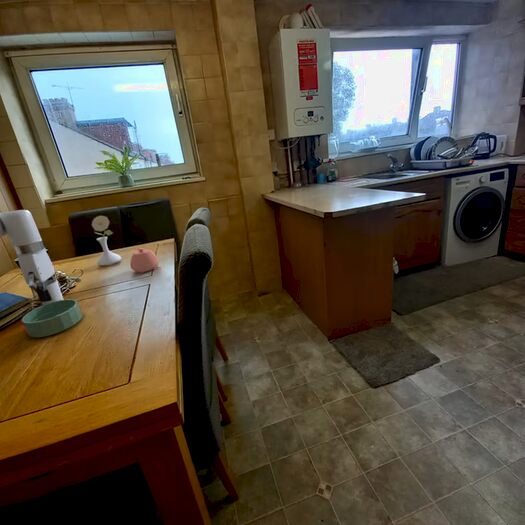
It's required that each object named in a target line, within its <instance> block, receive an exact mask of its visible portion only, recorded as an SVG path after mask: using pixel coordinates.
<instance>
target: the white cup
mask: <svg viewBox="0 0 525 525" xmlns="http://www.w3.org/2000/svg"><path fill="white" fill-rule="evenodd" d="M50 282H51V283H50ZM48 284H49V285H48ZM38 285H39V286H41V284H38ZM45 286H46V290H47V289H48V291H49V293H50V296H51V298H52V300H51V301H46V302H41V304H42V306H43V305H45V304H48V303H51V302H55V301H59V300H65V299H64V296H63V294H62V290H61V288H60V284H59V282H58V280H57V279H56V280H48V281H45ZM41 287H42V286H41Z"/></svg>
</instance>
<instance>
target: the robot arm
mask: <svg viewBox="0 0 525 525" xmlns="http://www.w3.org/2000/svg"><path fill="white" fill-rule="evenodd" d="M3 236H8V238H9V239H10V242H11V244H12V246H13V248H14V251H15V253H16V256H17V260H18V264H19V267H20V268H19V269H20V270H21V273H22V276H23V278H24V281H25V284H26V285H28V287H29V288H30V289H32V290H34V292H35V293H36V295H37V297H38V299H39V301H40V303H42V302H46V301H51V300H52V298H51V296H50V293H49V291H48V289H47V290H46V286H45V281H48V280H57V278H56V269H55V268H54V264H53V263H52V260H51V258H50V256H49V254H48V253H47V251H46V247H45V244H44V241H43V239H42V237H41V235H40V231H39V229H38V226H37V225H36V221H35V220H34V217H33V215H32V213H31V212H30V210H28V209H18V210H12V211H6V212H0V238H1V237H3ZM50 283H51V282H50ZM38 284H41V286H42V287H41V286H39V285H38ZM48 285H49V284H48Z"/></svg>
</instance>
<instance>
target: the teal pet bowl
mask: <svg viewBox="0 0 525 525" xmlns="http://www.w3.org/2000/svg"><path fill="white" fill-rule="evenodd" d="M82 318H83V312H82V310H81V307H80V304H79V301H78V300H77V299H74V298H66V299H64V300H59V301H55V302H51V303H48V304H45V305H43V304H42V305H40V306H38V307H35V308H34V309H32V310H30V311H28V312H27V313H25V315H24V316H23V317H22V318H21V323H22V325H23V327H24V329H25V331H26V333H27V335H28V336H29V337H30V338H43V337H49V336H52V335H56V334H59V333H61V332H63V331H65V330H67V329H69V328H71V327H73V326H75V325H76V324H77V323H79V322H80V321H81V320H82Z"/></svg>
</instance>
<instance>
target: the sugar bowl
mask: <svg viewBox="0 0 525 525" xmlns="http://www.w3.org/2000/svg"><path fill="white" fill-rule="evenodd" d="M129 262H130V269H131V270H132V271H133V272H135V273H140V274H144V273H146V272H149V271H152V270H156V268H157V267H158V266H159V265H160V260H159V258H158V256H157V255H156V253H154V252H153V251H152V250H151V249H149V248H144V247H139V248H138V249H137V250H136V251H134V252H133V253H132V255H131V258H130V261H129Z"/></svg>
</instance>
